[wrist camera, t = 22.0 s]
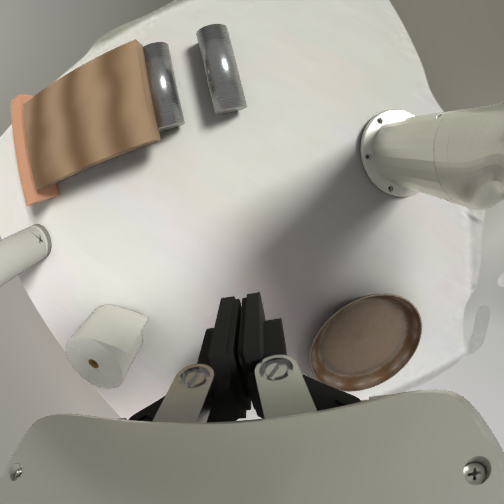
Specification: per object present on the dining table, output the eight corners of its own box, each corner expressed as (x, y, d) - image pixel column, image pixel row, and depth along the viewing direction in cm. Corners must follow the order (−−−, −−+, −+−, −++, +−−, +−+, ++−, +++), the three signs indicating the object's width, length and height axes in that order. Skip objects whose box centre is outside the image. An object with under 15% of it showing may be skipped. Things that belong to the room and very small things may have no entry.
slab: (142, 45, 26) (135, 39, 24) (160, 140, 31) (153, 139, 29) (33, 105, 28) (23, 104, 26) (46, 188, 33) (36, 190, 30)
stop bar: (42, 97, 31) (19, 94, 25) (58, 194, 37) (36, 201, 31) (33, 103, 31) (10, 101, 26) (49, 198, 37) (26, 206, 31)
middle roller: (173, 46, 29) (156, 39, 26) (190, 122, 33) (173, 121, 29) (150, 57, 31) (133, 52, 27) (165, 131, 34) (147, 132, 31)
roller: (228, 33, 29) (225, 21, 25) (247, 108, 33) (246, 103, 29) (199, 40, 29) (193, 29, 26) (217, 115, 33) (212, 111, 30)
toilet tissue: (88, 334, 46) (63, 366, 36) (99, 287, 42) (69, 317, 33) (135, 361, 47) (116, 397, 38) (153, 318, 44) (132, 355, 34)
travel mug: (51, 225, 39) (-33, 269, 20) (52, 260, 41) (-23, 314, 22) (29, 218, 38) (-52, 257, 19) (30, 252, 40) (-43, 299, 21)
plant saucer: (298, 302, 43) (301, 314, 39) (416, 272, 41) (426, 280, 38) (313, 390, 49) (315, 402, 46) (409, 362, 47) (415, 372, 44)
